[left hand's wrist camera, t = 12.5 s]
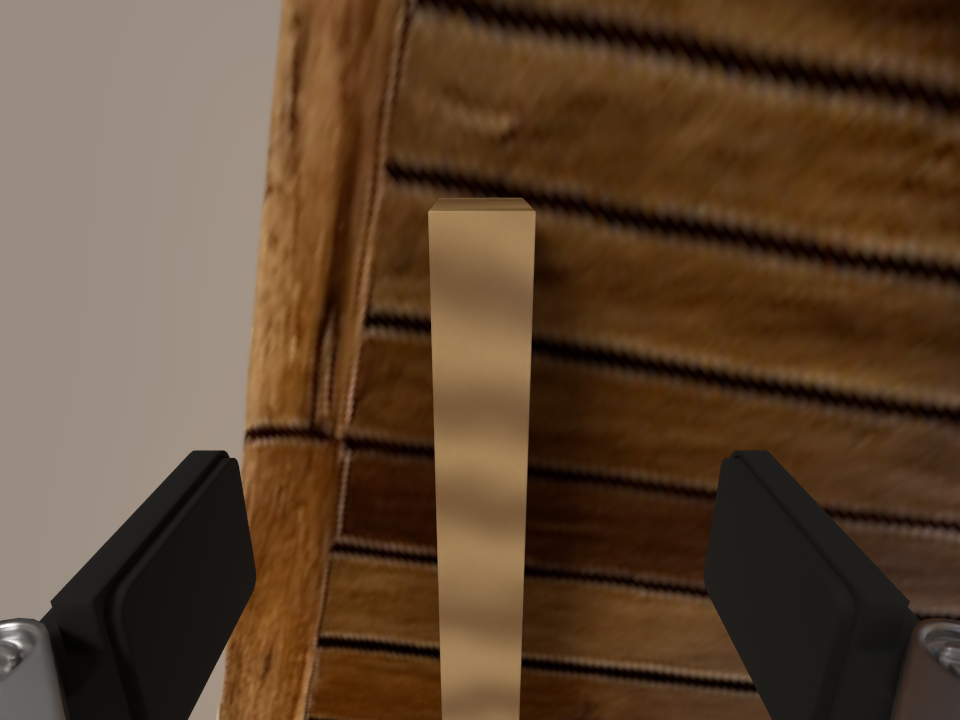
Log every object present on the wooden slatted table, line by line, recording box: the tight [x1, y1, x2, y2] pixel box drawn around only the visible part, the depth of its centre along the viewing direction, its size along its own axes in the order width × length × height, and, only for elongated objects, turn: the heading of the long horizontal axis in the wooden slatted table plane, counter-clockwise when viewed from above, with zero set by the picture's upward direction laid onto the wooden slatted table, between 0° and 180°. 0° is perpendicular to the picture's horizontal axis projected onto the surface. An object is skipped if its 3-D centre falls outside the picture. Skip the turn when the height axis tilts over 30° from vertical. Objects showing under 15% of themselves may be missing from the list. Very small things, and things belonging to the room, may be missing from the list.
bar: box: [428, 198, 536, 720], centre depth 41 cm, size 69×5×8 cm, turn 0°
